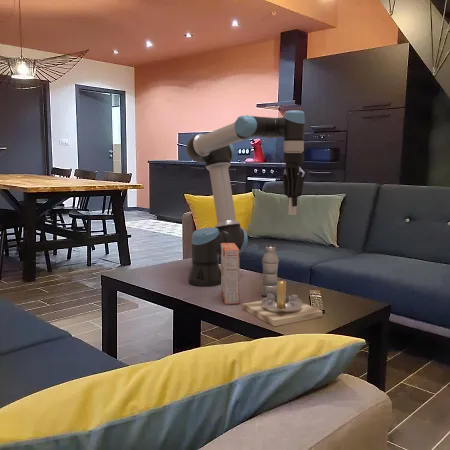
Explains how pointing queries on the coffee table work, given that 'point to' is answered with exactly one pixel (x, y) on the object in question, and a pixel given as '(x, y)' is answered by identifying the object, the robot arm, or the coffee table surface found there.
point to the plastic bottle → (270, 271)
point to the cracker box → (230, 273)
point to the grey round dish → (281, 300)
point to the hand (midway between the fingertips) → (292, 214)
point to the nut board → (281, 314)
